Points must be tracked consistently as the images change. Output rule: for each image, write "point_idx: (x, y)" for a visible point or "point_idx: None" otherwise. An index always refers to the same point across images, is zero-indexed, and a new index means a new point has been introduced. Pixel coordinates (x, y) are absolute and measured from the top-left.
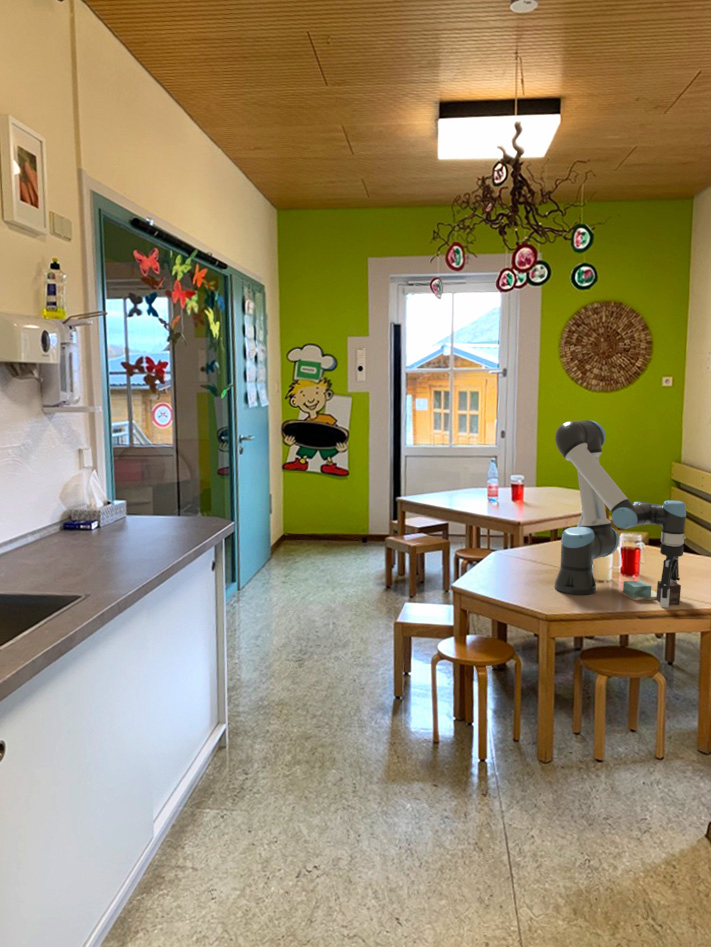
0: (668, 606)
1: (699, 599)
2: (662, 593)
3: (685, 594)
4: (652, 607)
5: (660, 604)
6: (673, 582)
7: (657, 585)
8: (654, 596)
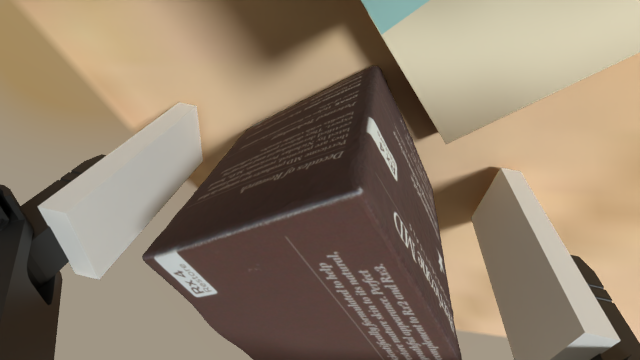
0: (197, 161)
1: (502, 323)
2: (57, 183)
3: (636, 281)
4: (112, 37)
5: (170, 110)
6: (369, 356)
7: (352, 146)
8: (399, 49)
